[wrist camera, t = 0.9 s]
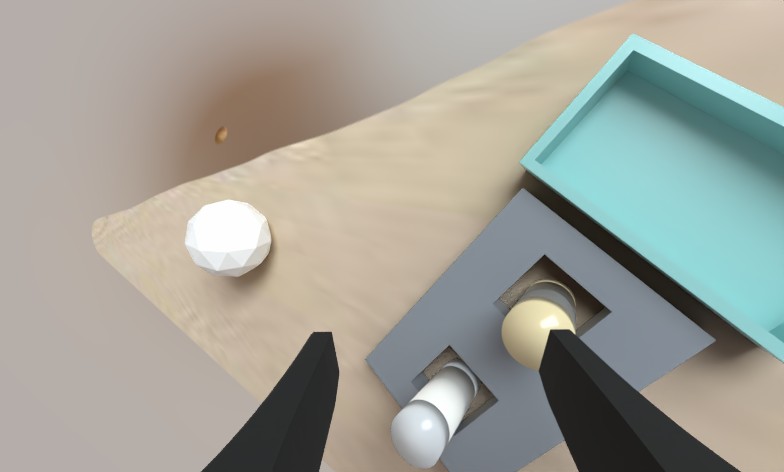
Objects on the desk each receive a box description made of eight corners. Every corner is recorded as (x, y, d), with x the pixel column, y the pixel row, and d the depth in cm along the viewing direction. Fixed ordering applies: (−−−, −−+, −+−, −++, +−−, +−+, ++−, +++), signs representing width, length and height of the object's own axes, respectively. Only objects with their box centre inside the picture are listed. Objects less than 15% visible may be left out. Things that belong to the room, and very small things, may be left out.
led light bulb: (586, 303, 20) (593, 343, 13) (550, 332, 21) (538, 384, 14) (548, 269, 21) (534, 288, 14) (515, 298, 22) (488, 331, 15)
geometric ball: (270, 232, 39) (200, 203, 35) (293, 211, 33) (211, 173, 29) (246, 291, 35) (166, 266, 32) (267, 280, 29) (170, 247, 25)
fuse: (488, 384, 23) (451, 451, 16) (461, 406, 24) (416, 478, 17) (459, 351, 24) (412, 400, 17) (434, 373, 25) (381, 429, 18)
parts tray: (948, 231, 13) (1039, 232, 11) (759, 347, 16) (794, 370, 13) (624, 60, 19) (632, 33, 16) (525, 170, 21) (519, 162, 19)
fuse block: (702, 329, 17) (716, 340, 15) (478, 481, 24) (471, 501, 22) (526, 190, 21) (522, 187, 20) (378, 351, 28) (365, 359, 26)
